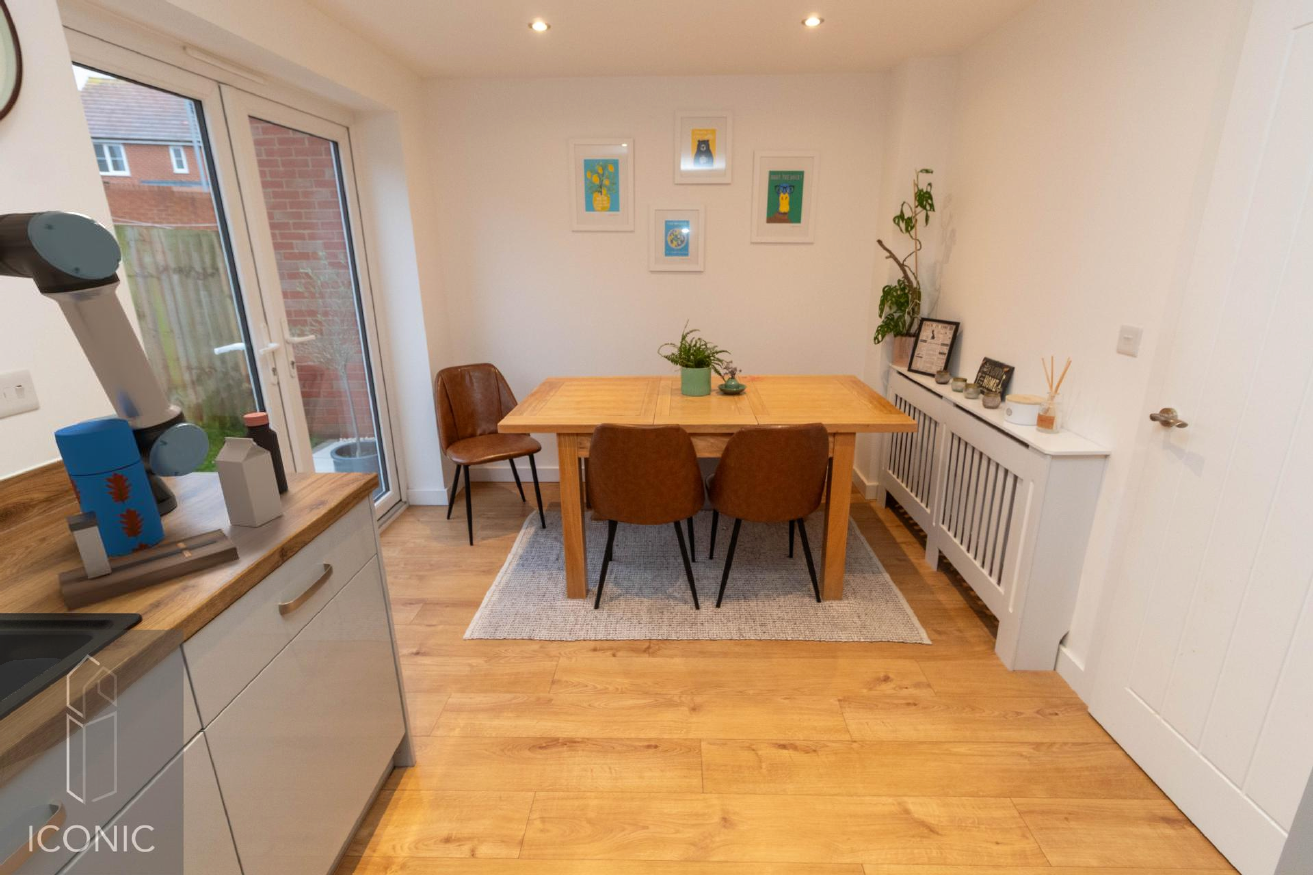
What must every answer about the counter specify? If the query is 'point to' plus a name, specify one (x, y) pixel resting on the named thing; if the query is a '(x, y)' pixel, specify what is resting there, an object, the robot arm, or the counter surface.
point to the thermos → (111, 483)
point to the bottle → (266, 444)
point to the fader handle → (89, 543)
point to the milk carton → (248, 483)
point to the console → (147, 568)
